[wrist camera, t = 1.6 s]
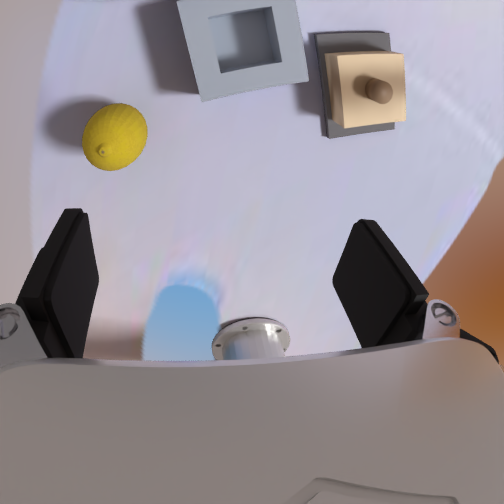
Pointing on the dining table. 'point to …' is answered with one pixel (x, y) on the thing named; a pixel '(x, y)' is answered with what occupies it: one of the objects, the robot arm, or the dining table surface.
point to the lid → (366, 87)
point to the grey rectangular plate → (327, 45)
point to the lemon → (114, 137)
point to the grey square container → (243, 45)
